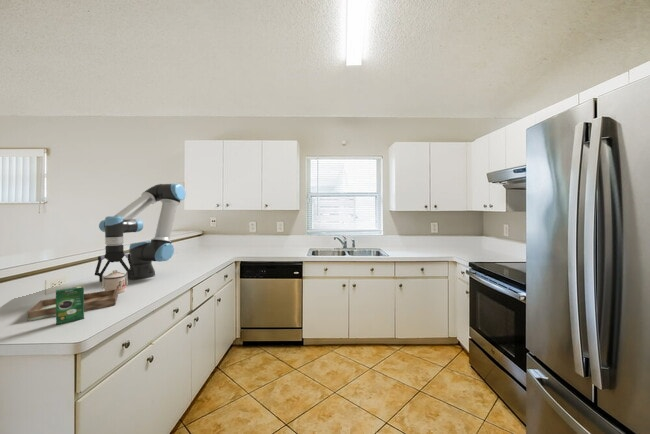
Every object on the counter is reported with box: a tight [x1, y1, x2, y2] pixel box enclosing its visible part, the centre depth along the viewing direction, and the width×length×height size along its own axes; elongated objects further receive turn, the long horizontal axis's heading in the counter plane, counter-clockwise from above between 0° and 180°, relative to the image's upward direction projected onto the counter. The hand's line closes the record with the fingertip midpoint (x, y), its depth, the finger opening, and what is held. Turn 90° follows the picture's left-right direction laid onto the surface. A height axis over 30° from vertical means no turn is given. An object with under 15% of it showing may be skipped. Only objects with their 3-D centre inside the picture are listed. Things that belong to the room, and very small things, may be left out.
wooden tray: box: [26, 289, 119, 322], centre depth 116 cm, size 27×17×4 cm, turn 126°
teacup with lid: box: [104, 270, 127, 294], centre depth 138 cm, size 12×9×12 cm
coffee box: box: [55, 285, 85, 325], centre depth 101 cm, size 8×3×13 cm, turn 136°
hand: (115, 286), depth 138 cm, fingers closed on teacup with lid, 9 cm apart
